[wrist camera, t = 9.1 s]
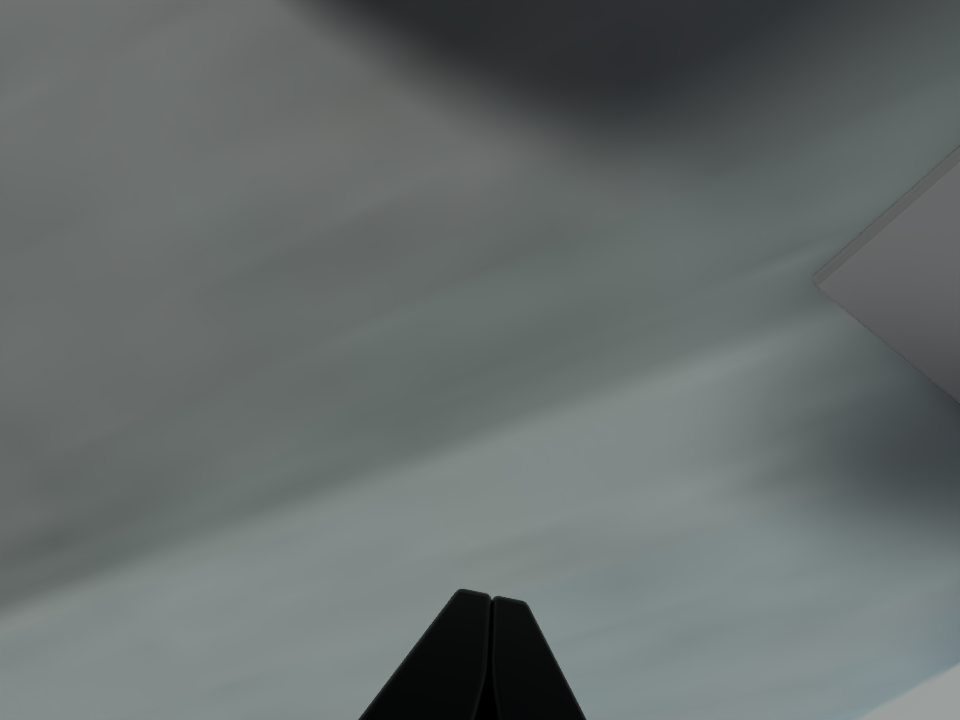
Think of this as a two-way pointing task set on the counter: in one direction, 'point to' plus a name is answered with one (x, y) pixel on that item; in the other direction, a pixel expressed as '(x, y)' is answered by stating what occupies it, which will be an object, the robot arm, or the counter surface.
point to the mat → (909, 276)
